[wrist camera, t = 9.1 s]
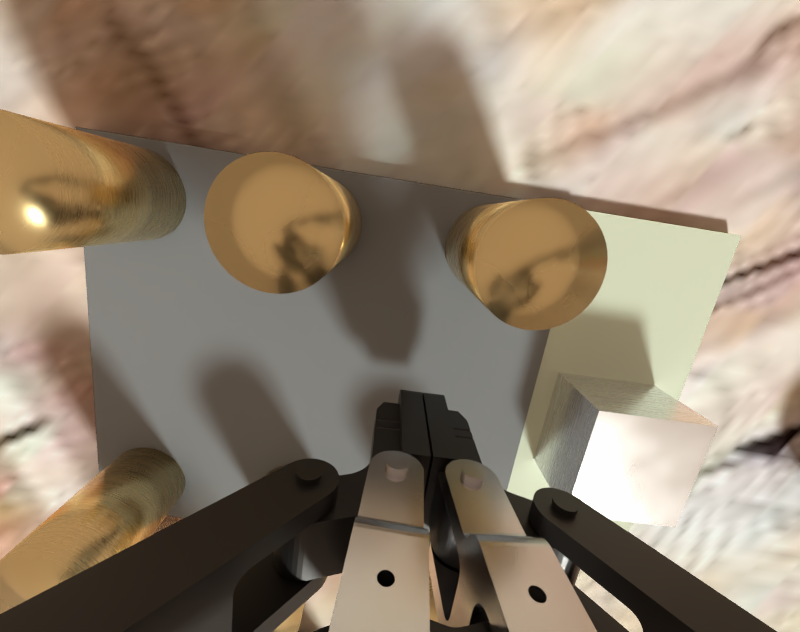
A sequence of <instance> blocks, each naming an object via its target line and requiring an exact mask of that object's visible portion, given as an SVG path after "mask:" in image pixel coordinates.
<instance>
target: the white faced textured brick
mask: <svg viewBox="0 0 800 632" xmlns="http://www.w3.org/2000/svg"><path fill="white" fill-rule="evenodd" d="M717 428H718V426H716V425H715V424H713V423H711V422H710V421H708V420H707V419H705V418H704V417H702V416H701V415H699V414H698V413H696V412H695V411H693V410H692V409H690V408H688V407H687V406H685V405H684V404H682V403H681V402H679V401H678V400H676V399H675V398H673V397H672V396H670V395H669V394H667V393H665V392H664V391H662V390H661V389H659V388H658V387H656V386H654V385H647V384H640V383H632V382H625V381H618V380H611V379H604V378H597V377H590V376H583V375H576V374H568V373H561V372H558V376H557V379H556V383H555V386H554V390H553V393H552V397H551V400H550V404H549V407H548V411H547V414H546V418H545V421H544V425H543V428H542V432H541V435H540V439H539V442H538V446H537V449H536V452H535V456H534V461H535V462H536V464H537V466H538V467H539V469H540V471H541V473H542V474H543V476H544V478H545V480H546V481H547V483H548V485H549V487H550V488H556V489H560V490H563V491H566V492H568V493H570V494H572V495H574V496H575V497H577V498H579V499H580V500H582V501H583V502H585V503H586V504H587V505H589V506H590V507H592V508H593V509H595V510H596V511H598V512H599V513H601V514H602V515H604V516H605V517H607V518H608V519H610V520H618V521H627V522H635V523H643V524H652V525H660V526H669V527H676V525H677V523H678V520H679V518H680V516H681V513H682V511H683V509H684V506H685V504H686V501H687V499H688V497H689V494H690V492H691V490H692V487H693V485H694V483H695V480H696V478H697V476H698V473H699V471H700V468H701V466H702V464H703V461H704V459H705V457H706V454H707V452H708V450H709V447H710V445H711V443H712V440H713V438H714V436H715V433H716V431H717Z"/></svg>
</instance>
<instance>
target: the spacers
mask: <svg viewBox="0 0 800 632" xmlns="http://www.w3.org/2000/svg"><path fill="white" fill-rule="evenodd" d="M185 210H186V193H185V188H184V185H183V182H182V180H181V178H180V176H179V174H178V173H177V171H176V170H175V169H174V167H173V166H172V165H171V164H170V163H169V162H168V161H167V160H166V159H165V158H163V157H162V156H161V155H159V154H157V153H155V152H154V151H151V150H149V149H146V148H142V147H139V146H135V145H131V144H127V143H124V142H120V141H116V140H113V139H109V138H105V137H101V136H98V135H94V134H90V133H87V132H83V131H79V130H76V129H72V128H68V127H64V126H61V125H57V124H53V123H50V122H46V121H42V120H38V119H35V118H31V117H27V116H24V115H20V114H16V113H13V112H9V111H5V110H1V109H0V254H16V253H26V252H36V251H46V250H56V249H66V248H76V247H85V246H95V245H105V244H115V243H125V242H135V241H145V240H154V239H159V238H162V237H165V236H167V235H169V234H170V233H172V232H173V231H174V230H175V229H176V228H177V227H178V226H179V224H180V223H181V221H182V219H183V217H184V214H185ZM204 226H205V232H206V236H207V239H208V242H209V245H210V247H211V249H212V252H213V253H214V255H215V257H216V258H217V260H218V261H219V263H220V264H221V265H222V266H223V268H224V269H225V270H226V271H227V272H228V273H229V274H230V275H232V276H233V277H234V278H235V279H237V280H238V281H240V282H241V283H243V284H244V285H246V286H248V287H251V288H253V289H255V290H258V291H261V292H266V293H273V294H287V293H293V292H297V291H300V290H303V289H306V288H308V287H310V286H312V285H313V284H315V283H316V282H318V281H319V280H320V279H321V278H323V277H324V276H325V275H326V274H327V273H328V272H329V271H331V270H332V269H333V268H334V267H335V266H336V265H337V264H338V263H340V262H341V261H342V260H343V259H344V258H345V257H346V256H348V255H349V254H350V253H351V252H352V250H353V249H354V248H355V246H356V245H357V243H358V241H359V238H360V235H361V230H362V217H361V211H360V208H359V206H358V203H357V201H356V200H355V198H354V196H353V195H352V194H351V193H350V191H349V190H348V189H347V188H346V187H344V186H343V185H342V184H340V183H339V182H337V181H335V180H334V179H332V178H330V177H329V176H327V175H325V174H324V173H322V172H320V171H319V170H317V169H315V168H314V167H312V166H310V165H309V164H307V163H305V162H303V161H302V160H300V159H298V158H295V157H293V156H290V155H287V154H283V153H279V152H257V153H252V154H248V155H246V156H243V157H240V158H239V159H237V160H235V161H233V162H232V163H230V164H229V165H228V166H226V167H225V168H224V169H223V170H222V171H221V172H220V173H219V174H218V176H217V177H216V178H215V180H214V181H213V183H212V185H211V187H210V189H209V192H208V195H207V197H206V202H205V207H204ZM445 253H446V259H447V263H448V266H449V268H450V270H451V271H452V273H453V274H454V276H455V277H456V278H457V279H458V280H459V281H460V282H461V283H462V284H463V285H464V286H465V287H466V288H467V289H468V290H469V291H470V292H471V293H472V294H473V295H474V296H475V297H476V298H477V299H478V300H479V301H480V302H481V303H482V304H483V305H484V306H485V307H486V308H487V309H488V310H489V311H490V312H491V313H493V314H494V315H495V316H496V317H497V318H498V319H500V320H501V321H503V322H504V323H506V324H508V325H510V326H513V327H516V328H519V329H524V330H545V329H551V328H554V327H557V326H560V325H562V324H565V323H567V322H568V321H570V320H572V319H574V318H575V317H576V316H578V315H579V314H580V313H582V312H583V311H584V310H585V309H586V308H587V307H588V306H589V304H590V303H591V302H592V301H593V299H594V298H595V296H596V295H597V293H598V292H599V290H600V288H601V286H602V283H603V280H604V278H605V274H606V270H607V261H608V254H607V246H606V241H605V238H604V235H603V232H602V230H601V228H600V226H599V225H598V223H597V222H596V220H595V219H594V218H593V217H592V216H591V215H590V214H589V213H588V212H587V211H586V210H584V209H583V208H582V207H580V206H578V205H577V204H575V203H572V202H570V201H567V200H563V199H559V198H537V199H528V200H520V201H511V202H502V203H494V204H485V205H480V206H477V207H474V208H472V209H470V210H468V211H466V212H465V213H463V214H462V215H461V216H460V217H459V218H458V219H457V220H456V221H455V223H454V224H453V225H452V227H451V229H450V231H449V233H448V236H447V240H446V246H445ZM285 466H286V465H285ZM282 467H284V466H280V467H277V468H275V469H273V470H271V471H269V472H268V473H267V474H266V475H265V476H267V475H268V474H270V473H272V472H274V471H276V470H278V469H280V468H282ZM265 476H264V477H265ZM184 490H185V476H184V473H183V471H182V469H181V467H180V466H179V464H178V463H177V462H176V461H175V460H174V459H173V458H172V457H170V456H169V455H167V454H166V453H164V452H162V451H159V450H156V449H152V448H144V447H141V448H133V449H130V450H127V451H125V452H124V453H122V454H121V455H120V456H118V457H117V458H116V459H115V460H114V461H113V462H112V463H111V464H109V465H108V466H107V467H106V468H105V469H104V470H103V471H101V472H100V473H99V474H98V475H97V476H96V477H95V478H93V479H92V480H91V481H90V482H89V483H88V484H87V485H85V486H84V487H83V488H82V489H81V490H80V491H79V492H77V493H76V494H75V495H74V496H73V497H72V498H71V499H69V500H68V501H67V502H66V503H65V504H64V505H63V506H61V507H60V508H59V509H58V510H57V511H56V512H55V513H54V514H52V515H51V516H50V517H49V518H48V519H47V520H46V521H44V522H43V523H42V524H41V525H40V526H39V527H38V528H36V529H35V530H34V531H33V532H32V533H31V534H30V535H28V536H27V537H26V538H25V539H24V540H23V541H22V542H20V543H19V544H18V545H17V546H16V547H15V548H14V549H12V550H11V551H10V552H9V553H8V554H7V555H6V556H5V557H3V558H2V559H1V560H0V614H1V613H3V612H5V611H7V610H9V609H11V608H13V607H15V606H17V605H19V604H21V603H22V602H24V601H26V600H28V599H30V598H32V597H34V596H36V595H38V594H40V593H42V592H44V591H46V590H47V589H49V588H51V587H53V586H55V585H57V584H59V583H61V582H63V581H65V580H67V579H69V578H71V577H72V576H74V575H76V574H78V573H80V572H82V571H84V570H86V569H88V568H90V567H92V566H94V565H96V564H97V563H99V562H101V561H103V560H105V559H107V558H109V557H111V556H113V555H115V554H117V553H119V552H120V551H122V550H124V549H126V548H128V547H130V546H132V545H134V544H136V543H138V542H140V541H142V540H144V539H145V538H147V537H149V536H151V535H153V533H154V532H155V531H156V529H157V528H158V527H159V525H160V524H161V523H162V521H163V520H164V519H165V517H166V516H167V515H168V513H169V512H170V511H171V509H172V508H173V507H174V505H175V504H176V503H177V501H178V500H179V499H180V497H181V496H182V494H183V492H184ZM428 534H429V546H430V541H431V537H430V532H428ZM429 605H430V620H433V621H436V622H438V618H437V612H436V606H435V600H434V594H433V589H432V583H431V577H430V571H429ZM304 606H305V603H304V604H302V605H301V606H300V607H299V608H298V609H297V610H296V611H295V612H294V613H293V614H291V615H290V616H289V617H288V618H287V619H286V620H285V621H284V622H283V623H282V624H280V625H279V626H278V627H277V628H276V629H275V630H274V631H273V632H298V630H299V628H300V623H301V619H302V614H303V610H304Z"/></svg>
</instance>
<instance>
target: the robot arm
mask: <svg viewBox="0 0 800 632" xmlns="http://www.w3.org/2000/svg"><path fill="white" fill-rule="evenodd" d="M428 532H430V537H431V541H430V546H429V534H428ZM580 569H581V570H582V571H584V572H585V573H586V574H587V575H589V576H590V577H591V578H592V579H594V580H595V581H596V582H597V583H599V584H600V585H601V586H602V587H603V588H605V589H606V590H607V591H608V592H610V593H611V594H612V595H613V596H615V597H616V598H617V599H618V600H619V601H621V602H622V603H623V604H624V605H626V606H627V607H628V608H629V609H630V610H631V611H632V612H633V613H634V614H635V615H636V616H637V618H638V619H639V621H640V623H641V625H642V628H643V632H777V631H775V630H774V629H772V628H771V627H769V626H768V625H766V624H765V623H763V622H762V621H760V620H759V619H757V618H756V617H754V616H753V615H751V614H750V613H748V612H747V611H745V610H744V609H742V608H741V607H739V606H738V605H736V604H735V603H733V602H732V601H731V600H729V599H728V598H726V597H725V596H723V595H722V594H720V593H719V592H717V591H716V590H714V589H713V588H711V587H710V586H708V585H707V584H705V583H704V582H702V581H701V580H699V579H698V578H696V577H695V576H693V575H692V574H690V573H689V572H687V571H686V570H684V569H683V568H681V567H680V566H678V565H677V564H675V563H674V562H672V561H671V560H669V559H668V558H666V557H665V556H663V555H662V554H660V553H659V552H658V551H656V550H655V549H653V548H652V547H650V546H649V545H647V544H646V543H644V542H643V541H641V540H640V539H638V538H637V537H635V536H634V535H632V534H631V533H629V532H628V531H626V530H625V529H623V528H622V527H620V526H619V525H617V524H616V523H614V522H613V521H611V520H610V519H608V518H607V517H605V516H604V515H602V514H601V513H599V512H598V511H596V510H595V509H593V508H592V507H590V506H589V505H587V504H586V503H585V502H583V501H582V500H580V499H579V498H577V497H575V496H574V495H572V494H570V493H568V492H566V491H563V490H560V489H556V488H549V487H548V488H541V489H539V490H537V491H536V492H535V494H534V497H533V500H530V499H527V498H524V497H521V496H518V495H516V494H513V493H510V492H508V491H506V490H504V489H503V487H502V485H501V483H500V481H499V479H498V477H497V476H496V474H495V473H494V472H493V471H492V470H491V469H489V468H488V467H487V466H485V465H483V464H482V462H481V459H480V456H479V453H478V451H477V448H476V445H475V442H474V440H473V436H472V433H471V432H470V427H469V424H468V422H467V420H466V419H465V418H464V417H463V416H462V415H461V414H460V413H459V412H458V411H452V410H448V407H447V403H446V400H445V396H444V395H440V394H432V393H425V392H423V393H422V392H416V391H409V390H400V393H399V399H398V404H397V403H389V402H383V403H382V404H381V405H380V406H379V407H378V408H377V411H376V418H375V425H374V432H373V438H372V445H371V454H370V463H369V464H368V465H367V466H366V467H365V468H364V469H362V470H360V471H358V472H355V473H352V474H346V475H339V474H338V471H337V470H336V469H335V467H334V466H332V465H331V464H330V463H328V462H326V461H323V460H319V459H310V458H309V459H301V460H297V461H294V462H292V463H290V464H288V465H286V466H284V467H282V468H280V469H278V470H276V471H274V472H272V473H270V474H268V475H267V476H265V477H263V478H261V479H259V480H257V481H255V482H253V483H251V484H249V485H247V486H245V487H243V488H242V489H240V490H238V491H236V492H234V493H232V494H230V495H228V496H226V497H224V498H222V499H220V500H218V501H217V502H215V503H213V504H211V505H209V506H207V507H205V508H203V509H201V510H199V511H197V512H195V513H193V514H192V515H190V516H188V517H186V518H184V519H182V520H180V521H178V522H176V523H174V524H172V525H170V526H169V527H167V528H165V529H163V530H161V531H159V532H157V533H155V534H153V535H151V536H149V537H147V538H145V539H144V540H142V541H140V542H138V543H136V544H134V545H132V546H130V547H128V548H126V549H124V550H122V551H120V552H119V553H117V554H115V555H113V556H111V557H109V558H107V559H105V560H103V561H101V562H99V563H97V564H96V565H94V566H92V567H90V568H88V569H86V570H84V571H82V572H80V573H78V574H76V575H74V576H72V577H71V578H69V579H67V580H65V581H63V582H61V583H59V584H57V585H55V586H53V587H51V588H49V589H47V590H46V591H44V592H42V593H40V594H38V595H36V596H34V597H32V598H30V599H28V600H26V601H24V602H22V603H21V604H19V605H17V606H15V607H13V608H11V609H9V610H7V611H5V612H3V613H1V614H0V632H273V631H274V630H275V629H276V628H277V627H278V626H279V625H280V624H282V623H283V622H284V621H285V620H286V619H287V618H288V617H289V616H290V615H291V614H293V613H294V612H295V611H296V610H297V609H298V608H299V607H300V606H301V605H302V604H304V603H305V602H306V601H307V600H308V599H309V598H310V597H311V596H312V595H314V594H315V593H316V592H317V591H318V590H319V589H320V588H321V587H322V585H323V584H324V582H325V580H326V578H327V576H330V575H334V574H339V573H342V576H341V580H340V585H339V589H338V593H337V597H336V602H335V606H334V610H333V615H332V619H331V623H330V625H329V626H326V627H323V628H320V629H318V630H316V631H314V632H629V631H628V630H627V629H625V628H624V627H623V626H622V625H621V624H619V623H618V622H617V621H616V620H615V619H614V618H612V617H611V616H610V615H609V614H608V613H607V612H605V611H604V610H603V609H602V608H601V607H600V606H598V605H597V604H596V603H595V602H594V601H593V600H591V599H590V598H589V597H588V596H587V595H586V594H584V593H583V592H582V591H581V590H580V589H578V588H577V587H576V586H575V582H576V579H577V576H578V574H579V571H580ZM429 571H430V577H431V583H432V589H433V594H434V600H435V606H436V612H437V618H438V622H436V621H433V620H430V605H429Z"/></svg>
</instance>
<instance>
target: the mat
mask: <svg viewBox="0 0 800 632" xmlns="http://www.w3.org/2000/svg"><path fill="white" fill-rule="evenodd" d="M76 130H79V131H83V132H87V133H90V134H94V135H98V136H101V137H105V138H109V139H113V140H116V141H120V142H124V143H127V144H131V145H135V146H139V147H142V148H146V149H149V150H151V151H154V152H155V153H157V154H159V155H161V156H162V157H163V158H165V159H166V160H167V161H168V162H169V163H170V164H171V165H172V166H173V167H174V169H175V170H176V171H177V173H178V174H179V176H180V178H181V180H182V182H183V185H184V188H185V193H186V210H185V214H184V217H183V219H182V221H181V223H180V224H179V226H178V227H177V228H176V229H175V230H174V231H173V232H172V233H170V234H169V235H167V236H165V237H162V238H159V239H154V240H145V241H135V242H125V243H115V244H105V245H95V246H85V247H84V255H85V270H86V285H87V300H88V315H89V330H90V345H91V360H92V374H93V389H94V404H95V419H96V434H97V449H98V464H99V473H100V472H101V471H103V470H104V469H105V468H106V467H107V466H108V465H109V464H111V463H112V462H113V461H114V460H115V459H116V458H117V457H118V456H120V455H121V454H122V453H124V452H125V451H127V450H130V449H133V448H141V447H144V448H152V449H156V450H159V451H162V452H164V453H166V454H167V455H169V456H170V457H172V458H173V459H174V460H175V461H176V462H177V463H178V464H179V466H180V467H181V469H182V471H183V473H184V476H185V490H184V492H183V494H182V496H181V497H180V499H179V500H178V501H177V503H176V504H175V505H174V507H173V508H172V509H171V511H170V512H169V513H168V515H167V516H171V517H180V518H186V517H188V516H190V515H192V514H193V513H195V512H197V511H199V510H201V509H203V508H205V507H207V506H209V505H211V504H213V503H215V502H217V501H218V500H220V499H222V498H224V497H226V496H228V495H230V494H232V493H234V492H236V491H238V490H240V489H242V488H243V487H245V486H247V485H249V484H251V483H253V482H255V481H257V480H259V479H261V478H263V477H264V476H265V475H266V474H267V473H268V472H269V471H271V470H273V469H275V468H277V467H280V466H285V465H288V464H290V463H292V462H294V461H297V460H301V459H309V458H310V459H319V460H323V461H326V462H328V463H330V464H331V465H332V466H334V467H335V469H336V470H337V471H338V474H339V475H346V474H352V473H355V472H358V471H360V470H362V469H364V468H365V467H366V466H367V465H368V464H369V463H370V454H371V445H372V438H373V432H374V425H375V418H376V411H377V408H378V407H379V406H380V405H381V404H382V403H383V402H389V403H397V404H398V399H399V393H400V390H409V391H416V392H422V393H423V392H425V393H432V394H440V395H444V396H445V400H446V403H447V407H448V410H452V411H458V412H459V413H460V414H461V415H462V416H463V417H464V418H465V419H466V420H467V422H468V424H469V427H470V432H471V433H472V436H473V440H474V442H475V445H476V448H477V451H478V453H479V456H480V459H481V462H482V464H483V465H485V466H487V467H488V468H489V469H491V470H492V471H493V472H494V473H495V474H496V476H497V477H498V479H499V481H500V483H501V485H502V487H503V489H504V490H506V491H508V492H510V493H513V494H516V495H518V496H521V497H524V498H527V499H530V500H533V497H534V494H535V492H536V491H537V490H539V489H541V488H548V487H549V485H548V483H547V481H546V480H545V478H544V476H543V474H542V473H541V471H540V469H539V467H538V466H537V464H536V462H535V461H534V456H535V452H536V449H537V446H538V442H539V439H540V435H541V432H542V428H543V425H544V421H545V418H546V414H547V411H548V407H549V404H550V400H551V397H552V393H553V390H554V386H555V383H556V379H557V376H558V372H561V373H568V374H576V375H583V376H590V377H597V378H604V379H611V380H618V381H625V382H632V383H640V384H647V385H654V386H656V387H658V388H659V389H661V390H662V391H664V392H665V393H667V394H669V395H670V396H672V397H673V398H675V399H676V400H679V398H680V395H681V392H682V390H683V387H684V385H685V382H686V379H687V377H688V374H689V371H690V369H691V366H692V364H693V361H694V358H695V356H696V353H697V350H698V348H699V345H700V343H701V340H702V337H703V335H704V332H705V330H706V327H707V324H708V322H709V319H710V316H711V314H712V311H713V309H714V306H715V303H716V301H717V298H718V295H719V293H720V290H721V288H722V285H723V282H724V280H725V277H726V274H727V272H728V269H729V267H730V264H731V261H732V259H733V256H734V254H735V251H736V248H737V246H738V243H739V240H740V238H741V235H734V234H728V233H722V232H716V231H710V230H704V229H698V228H691V227H685V226H679V225H673V224H667V223H661V222H655V221H649V220H642V219H636V218H630V217H624V216H618V215H612V214H606V213H599V212H593V211H587V210H586V211H587V212H588V213H589V214H590V215H591V216H592V217H593V218H594V219H595V220H596V222H597V223H598V225H599V226H600V228H601V230H602V232H603V235H604V238H605V241H606V246H607V254H608V261H607V270H606V274H605V278H604V280H603V283H602V286H601V288H600V290H599V292H598V293H597V295H596V296H595V298H594V299H593V301H592V302H591V303H590V304H589V306H588V307H587V308H586V309H585V310H584V311H583V312H582V313H580V314H579V315H578V316H576V317H575V318H574V319H572V320H570V321H568V322H567V323H565V324H562V325H560V326H557V327H554V328H551V329H545V330H524V329H519V328H516V327H513V326H510V325H508V324H506V323H504V322H503V321H501V320H500V319H498V318H497V317H496V316H495V315H494V314H493V313H491V312H490V311H489V310H488V309H487V308H486V307H485V306H484V305H483V304H482V303H481V302H480V301H479V300H478V299H477V298H476V297H475V296H474V295H473V294H472V293H471V292H470V291H469V290H468V289H467V288H466V287H465V286H464V285H463V284H462V283H461V282H460V281H459V280H458V279H457V278H456V277H455V276H454V274H453V273H452V271H451V270H450V268H449V266H448V263H447V259H446V253H445V246H446V240H447V236H448V233H449V231H450V229H451V227H452V225H453V224H454V223H455V221H456V220H457V219H458V218H459V217H460V216H461V215H462V214H463V213H465V212H466V211H468V210H470V209H472V208H474V207H477V206H480V205H485V204H494V203H502V202H511V201H520V200H521V199H515V198H509V197H503V196H497V195H491V194H485V193H478V192H472V191H466V190H460V189H454V188H448V187H442V186H436V185H429V184H423V183H417V182H411V181H405V180H399V179H393V178H386V177H380V176H374V175H368V174H362V173H356V172H350V171H344V170H337V169H331V168H325V167H319V166H313V165H310V166H312V167H314V168H315V169H317V170H319V171H320V172H322V173H324V174H325V175H327V176H329V177H330V178H332V179H334V180H335V181H337V182H339V183H340V184H342V185H343V186H344V187H346V188H347V189H348V190H349V191H350V193H351V194H352V195H353V196H354V198H355V200H356V201H357V203H358V206H359V208H360V211H361V217H362V230H361V235H360V238H359V241H358V243H357V245H356V246H355V248H354V249H353V250H352V252H351V253H350V254H349V255H348V256H346V257H345V258H344V259H343V260H342V261H341V262H340V263H338V264H337V265H336V266H335V267H334V268H333V269H332V270H331V271H329V272H328V273H327V274H326V275H325V276H324V277H323V278H321V279H320V280H319V281H318V282H316V283H315V284H313V285H312V286H310V287H308V288H306V289H303V290H300V291H297V292H293V293H287V294H273V293H266V292H261V291H258V290H255V289H253V288H251V287H248V286H246V285H244V284H243V283H241V282H240V281H238V280H237V279H235V278H234V277H233V276H232V275H230V274H229V273H228V272H227V271H226V270H225V269H224V268H223V266H222V265H221V264H220V263H219V261H218V260H217V258H216V257H215V255H214V253H213V252H212V249H211V247H210V245H209V242H208V239H207V236H206V232H205V226H204V207H205V202H206V197H207V195H208V192H209V189H210V187H211V185H212V183H213V181H214V180H215V178H216V177H217V176H218V174H219V173H220V172H221V171H222V170H223V169H224V168H225V167H226V166H228V165H229V164H230V163H232V162H233V161H235V160H237V159H239V158H240V157H243V156H246V155H245V154H239V153H233V152H227V151H221V150H215V149H209V148H203V147H196V146H190V145H184V144H178V143H172V142H166V141H160V140H153V139H147V138H141V137H135V136H129V135H123V134H117V133H111V132H104V131H98V130H92V129H86V128H80V127H76ZM549 488H550V487H549ZM611 521H613V522H614V523H616V524H617V525H619V526H620V527H622V528H623V529H625V530H626V531H629V529H630V526H631V523H632V522H627V521H618V520H611Z"/></svg>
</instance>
